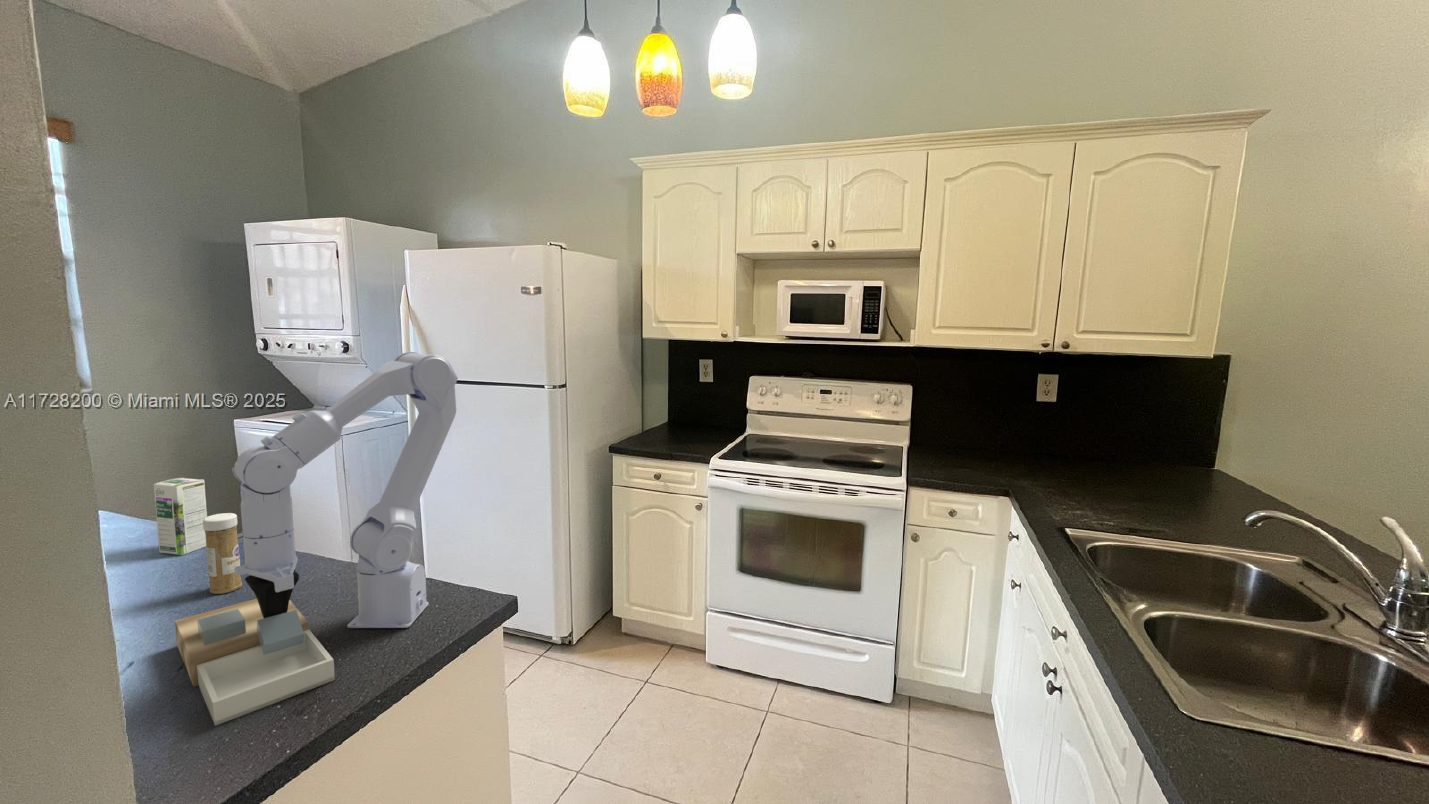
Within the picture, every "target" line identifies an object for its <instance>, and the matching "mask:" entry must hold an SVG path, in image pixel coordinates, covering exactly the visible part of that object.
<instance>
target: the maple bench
mask: <svg viewBox="0 0 1429 804" xmlns="http://www.w3.org/2000/svg"><path fill="white" fill-rule="evenodd" d="M235 609H238V610H239V611H240V613H241V614H242V616H243V617H244V619H245V626H246V633H244V634H241V635H237V636H234V637H231V638H227V639H224V640H221V641H217V642H214V643H211V644H207V645H204V644H203V642H202V640H201V638H200V635H199V633H198V623H197V620H199V619H202V618H206V617H209V616H213V615H217V614H220V613H224V612H228V611H231V610H235ZM294 610H296V611H297V614H298V617H299V620H300V623H301V626H302V629H303V631H306V630H310V626H309V625H310V624H309V621H308V619H306V617H305V616H304V615H303V614H302V613H301V612H300V611H299V609H298V608H297V607H296V605H294V603H293V602H292V600H291V599H290V600H289V605H288V610H287V612H290V611H294ZM260 619H264V618H263V616H262V613H261V609H260V606H259V603H258V600H257V598H254V599H250V600H247V601H242V602H239V603H235V604H231V605H228V606H224V607H221V608H217V609H213V610H210V611H205V612H202V613H198V614H195V615H194V614H193V615H191V616H186V617H183V618H179V619H175V620H174V624H175V635H176V636H175V637H176V643H177V644H176V645H177V648H178V651H179V653H180V656H181V659H182V661H183V664H184V666H185V668H186V671H187V674H188V676H189V679H190V681H191V684H192V686H193V688H194V687H199V684H198V673H197V665H199V664H202V663H206V662H209V661H212V660H215V659H218V658H221V657H224V656H228V655H231V654H234V653H237V652H240V651H243V650H247V649H250V648H253V647H256V646H259V645H261V644H260V640H259V637H258V633H257V620H260Z"/></svg>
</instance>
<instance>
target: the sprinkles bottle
mask: <svg viewBox="0 0 1429 804" xmlns="http://www.w3.org/2000/svg"><path fill="white" fill-rule="evenodd" d="M237 525H238V515H237V514H236V513H233V512H226V513H225V512H224V513H223V512H222V513H216V514H213V515H207V517H206V518H204V519H203V529H204V530H205V535H206V536H205V537H206V547H205V549H206V550H205V551H206V562H207V571H208V573H207V575H208V576H209V592H210V593H211V594H214V595H219V594H221V595H222V594H228V593H231V592H234V591H236V590H238V589H240V588H241V587H242V586H243V582H242V577H241V576H242V575H236V573H235V570H234V568H235V567H237V566H241V558H240V546H239V541H238V531H237V528H238V526H237Z"/></svg>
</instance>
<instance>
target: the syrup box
mask: <svg viewBox="0 0 1429 804" xmlns="http://www.w3.org/2000/svg"><path fill="white" fill-rule="evenodd" d="M205 486H206V485H205V479H201V478H200V479H199V478H198V479H197V478H186V477H178V478H171V479H166V480H163V481H159V482H156V483H154V484H153V492H154V502H155V503H154V506H155V513H156V516H155V517H156V526H157V527H156V529H157V540H158V551H159V554H171V555H178V556H184V555H187V554H189V553H191V552H195V551H197V550H200V549H203V548H206V537H205V536H206V535H205V530H204V529H203V519H204V518H206V517H208V511H207V499H206V487H205Z"/></svg>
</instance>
